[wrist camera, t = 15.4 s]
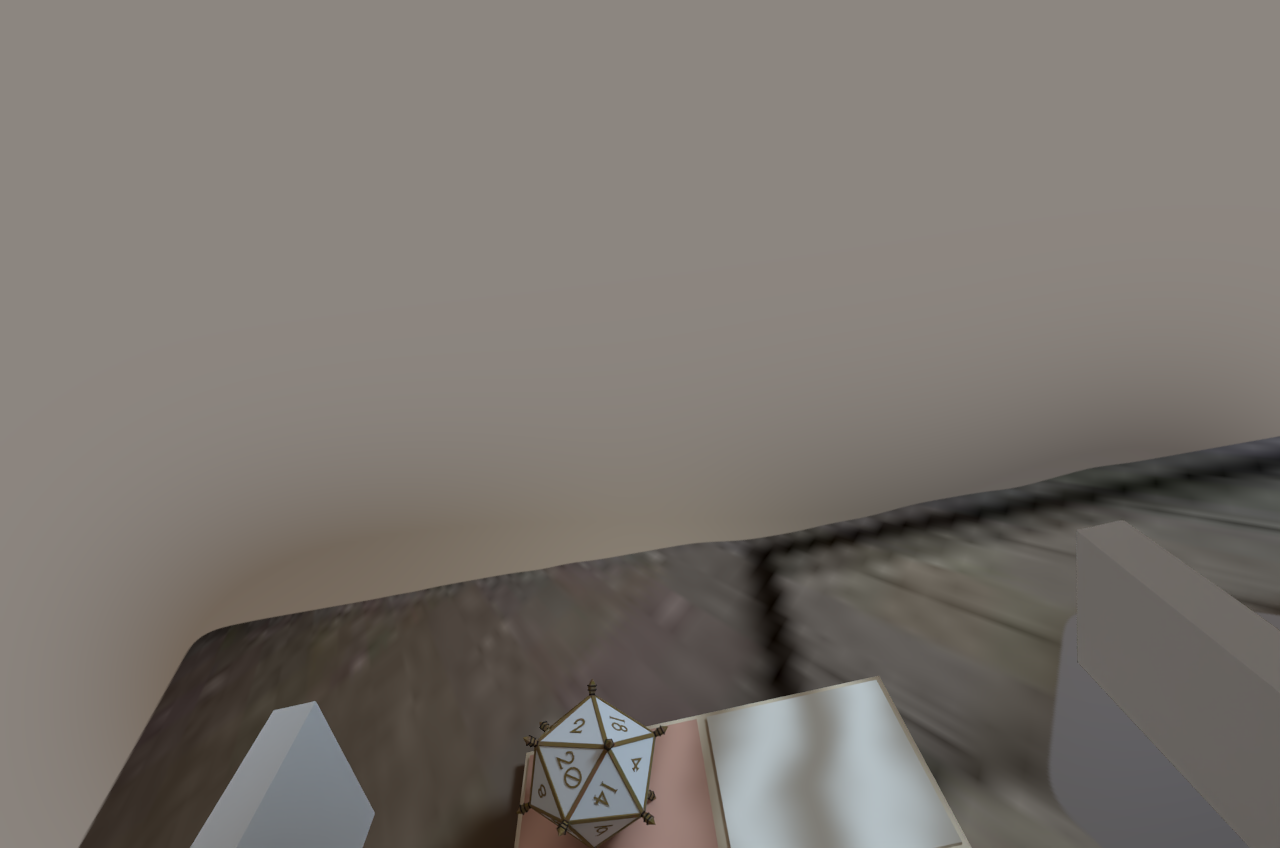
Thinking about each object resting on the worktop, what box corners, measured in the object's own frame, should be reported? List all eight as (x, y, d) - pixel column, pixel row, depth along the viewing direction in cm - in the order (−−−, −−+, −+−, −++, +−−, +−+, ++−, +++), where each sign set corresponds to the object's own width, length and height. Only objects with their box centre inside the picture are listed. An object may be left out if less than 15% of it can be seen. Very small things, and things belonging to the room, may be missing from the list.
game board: (880, 687, 48) (878, 673, 47) (975, 865, 36) (973, 849, 35) (530, 763, 49) (525, 750, 48) (506, 963, 36) (499, 948, 36)
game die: (653, 866, 42) (703, 827, 35) (512, 885, 40) (534, 847, 33) (632, 716, 48) (671, 656, 41) (508, 724, 46) (526, 663, 38)
